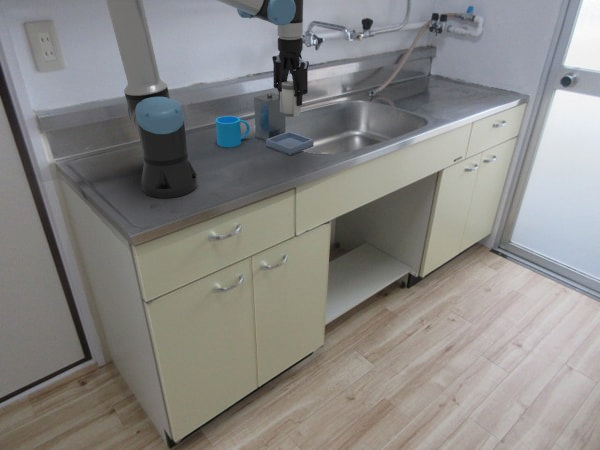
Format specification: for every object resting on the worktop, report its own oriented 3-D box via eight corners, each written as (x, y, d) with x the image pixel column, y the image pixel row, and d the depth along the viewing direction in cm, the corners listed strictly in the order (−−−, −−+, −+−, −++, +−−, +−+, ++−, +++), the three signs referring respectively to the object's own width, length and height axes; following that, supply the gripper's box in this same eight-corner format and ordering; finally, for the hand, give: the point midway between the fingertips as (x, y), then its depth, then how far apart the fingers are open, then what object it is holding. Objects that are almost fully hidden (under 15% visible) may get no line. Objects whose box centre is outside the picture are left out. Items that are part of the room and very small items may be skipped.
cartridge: (290, 117, 146) (290, 86, 140) (278, 114, 149) (277, 82, 144) (301, 114, 149) (302, 82, 144) (289, 110, 152) (289, 79, 147)
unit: (269, 141, 158) (268, 99, 150) (255, 136, 162) (254, 94, 154) (286, 135, 163) (285, 94, 156) (272, 130, 167) (271, 90, 160)
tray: (290, 155, 148) (290, 148, 147) (265, 146, 155) (265, 139, 153) (313, 146, 155) (313, 139, 154) (289, 137, 162) (289, 131, 160)
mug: (223, 149, 152) (221, 125, 148) (213, 141, 158) (211, 118, 154) (255, 142, 158) (254, 119, 153) (244, 135, 163) (243, 112, 159)
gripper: (321, 39, 134) (319, 117, 146) (277, 32, 144) (278, 104, 157) (304, 42, 129) (303, 122, 141) (260, 34, 140) (262, 109, 152)
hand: (290, 113), depth 149 cm, fingers closed on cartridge, 5 cm apart
